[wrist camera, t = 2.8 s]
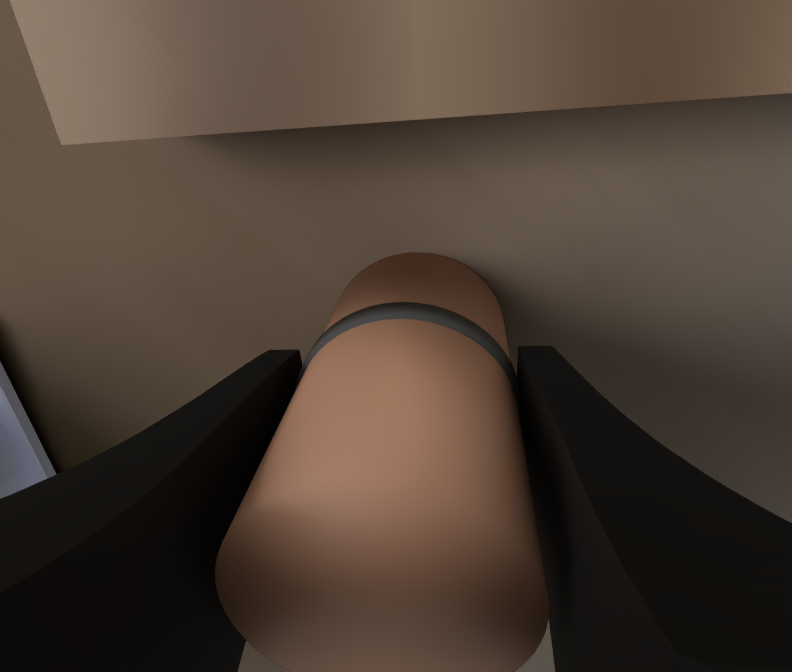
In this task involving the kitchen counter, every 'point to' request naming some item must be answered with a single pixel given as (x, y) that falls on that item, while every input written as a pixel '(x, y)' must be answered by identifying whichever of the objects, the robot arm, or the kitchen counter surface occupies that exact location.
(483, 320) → the peg
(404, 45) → the socket board
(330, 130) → the kitchen counter surface
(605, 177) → the kitchen counter surface
